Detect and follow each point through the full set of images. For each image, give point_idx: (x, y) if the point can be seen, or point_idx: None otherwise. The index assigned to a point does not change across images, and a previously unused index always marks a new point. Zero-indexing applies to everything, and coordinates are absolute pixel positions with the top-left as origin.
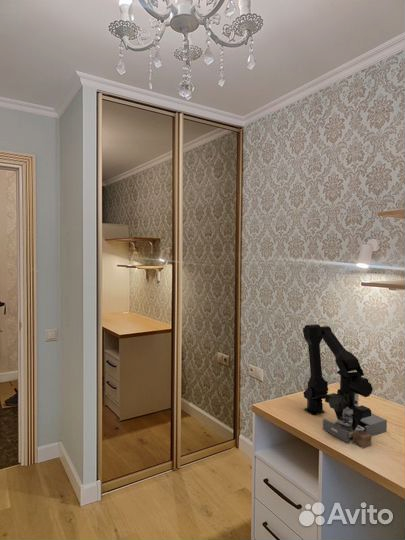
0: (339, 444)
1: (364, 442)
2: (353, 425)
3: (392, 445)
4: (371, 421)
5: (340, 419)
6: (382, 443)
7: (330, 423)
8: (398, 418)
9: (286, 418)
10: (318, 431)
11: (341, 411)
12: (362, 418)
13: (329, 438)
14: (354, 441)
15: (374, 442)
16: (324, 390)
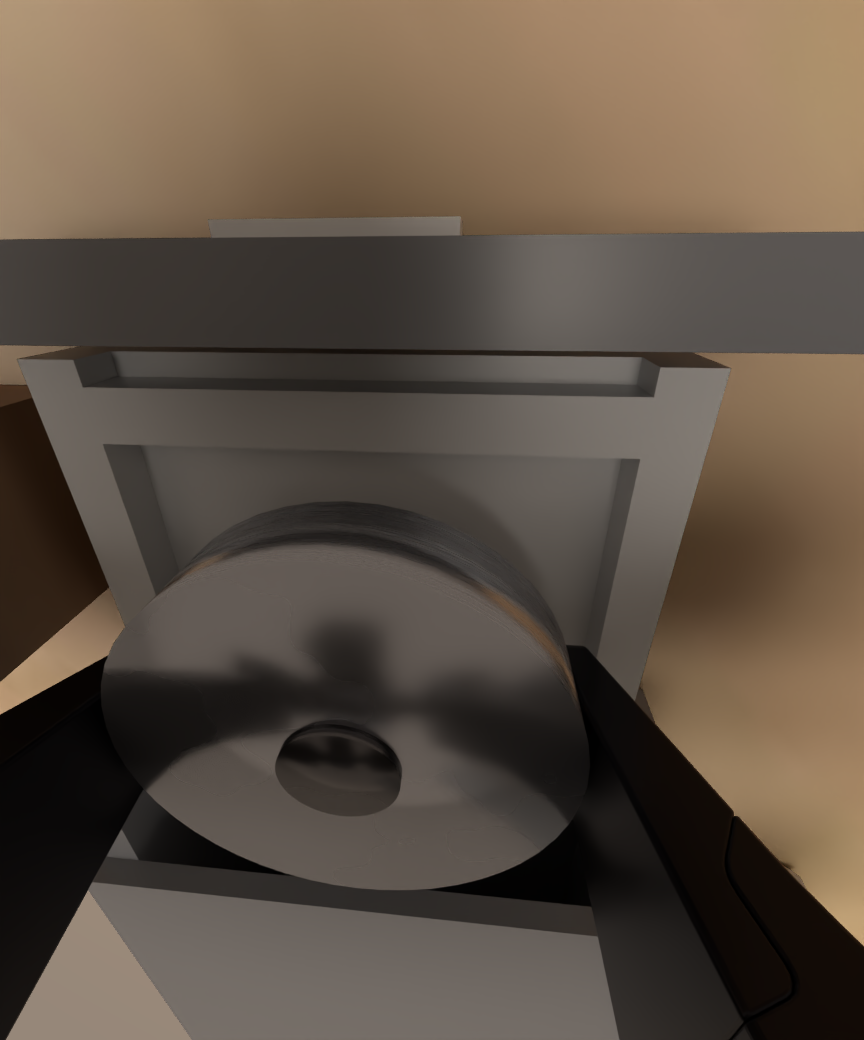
0: (25, 19)
1: None
2: (73, 688)
3: None
4: (197, 954)
5: (447, 682)
6: (25, 692)
7: (536, 239)
8: None
9: None
10: (790, 21)
11: (630, 1001)
12: (331, 953)
13: (348, 9)
14: (2, 394)
15: (55, 647)
16: None
